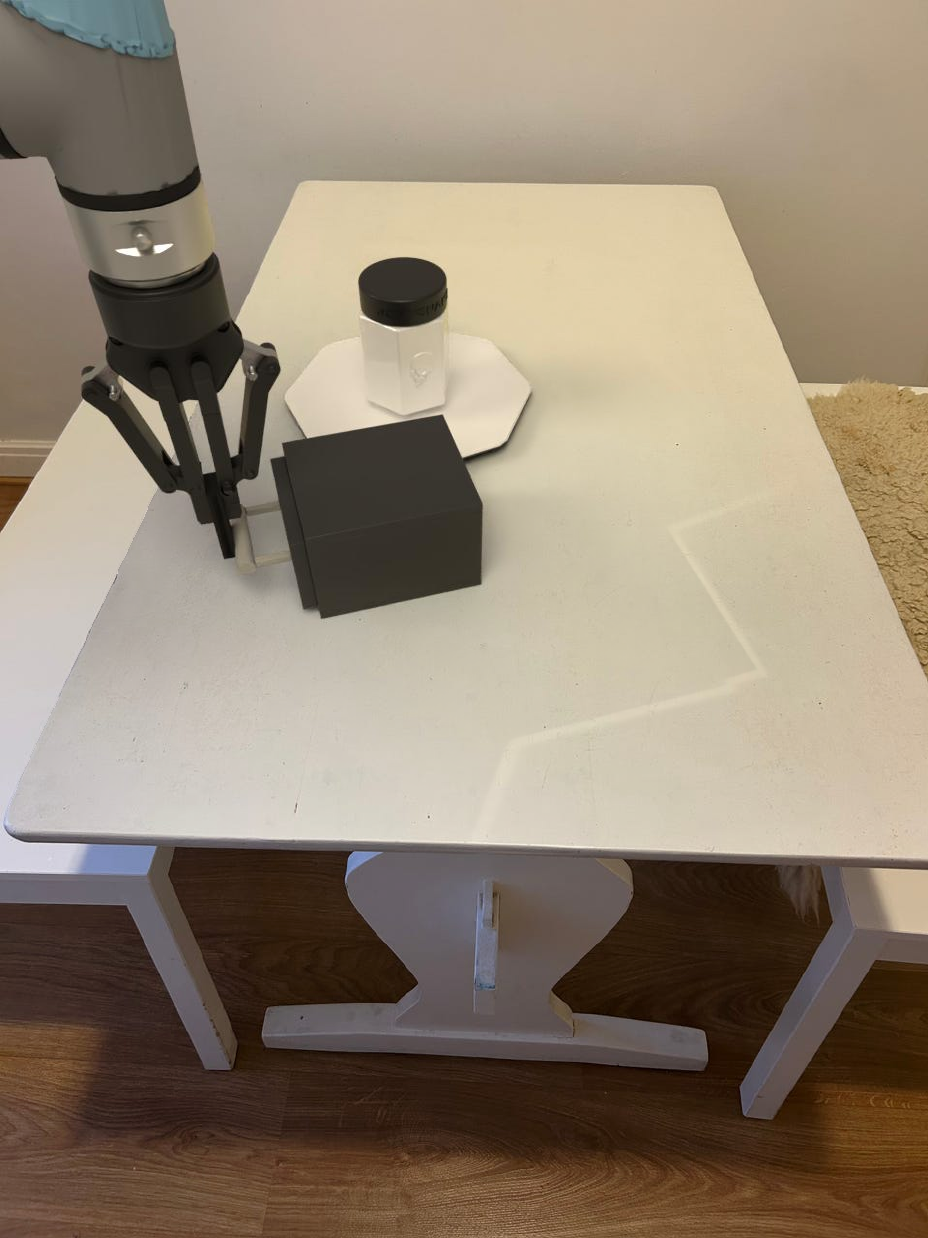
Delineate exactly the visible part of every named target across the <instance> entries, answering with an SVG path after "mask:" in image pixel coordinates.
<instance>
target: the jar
mask: <svg viewBox="0 0 928 1238" xmlns="http://www.w3.org/2000/svg"><path fill="white" fill-rule="evenodd" d="M357 285H358V295H359V304H360V311H359V314H358V322H359V331H360V333H359V334H360V336H361V343H362V352H363V362H364V371H365V381H366V391H367V399H368V400H369V401H371V402H373V403H376V404H378V405H380V406H382V407H385V408H387V409H389V410H391V411H394V412H396V413H398V414H400V415H407V414H411V413H414V412H418V411H422V410H425V409H429V408H433V407H436V406H440V405H443V404H444V403H445V399H446V393H447V387H448V382H449V332H450V331H449V294H448V293H449V291H448V290H449V289H448V278H447V274H446V272H445V271H444V270H443V268H442V267H441V266H439V265H438V264H436V263H434V262H432V261H430V260H426V259H424V258H420V257H412V256H411V257H409V256H397V257H389V258H385V259H381V260H378V261H375V262H373V263H371V264H370V265H368V266H367V267H365V268H364V269H363V270H362V271H361V272H360V274H359V276H358V280H357Z"/></svg>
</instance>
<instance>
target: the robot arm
mask: <svg viewBox="0 0 928 1238" xmlns="http://www.w3.org/2000/svg"><path fill="white" fill-rule="evenodd" d="M177 49H178V48H177V39H176V34H175V30H173V28H172V27H171V25H170V20H169V16H168V12H167V9H166V5H165V1H164V0H0V160H2V161H3V160H11V161H12V160H22V159H28V158H35V157H36V158H38V157H39V158H46V160H47V162H48V163H49V166H50V168H51V169H52V172H53V174H54V179H55V182H56V186H57V189H58V192H59V193H60V196H61V200H62V203H63V205H64V208H65V212H66V215H67V218H68V221H69V224H70V226H71V230H72V233H73V236H74V239H75V242H76V246H77V249H78V252H79V255H80V259H81V261H82V262H83V263H84V265H85V266H86V267H87V268H88V269H89V271H88V275H87V279H88V282H89V285H90V288H91V292H92V294H93V297H94V300H95V303H96V307H97V309H98V312H99V315H100V318H101V320H102V324H103V327H104V330H105V333H106V335H107V339H106V342H105V347H104V348H105V358H104V359H103V360H102V361H101V362H99V364H97V365H96V366H93V365H87V366H85V367H83V368H82V370H81V379H80V380H81V381H80V383H81V385H80V386H81V388H80V390H81V391H80V393H81V398H82V399H83V400H84V401H85V402H87V403H88V404H89V405H90V406H92V407H93V408H94V409H96V410H98V411H99V412H100V413H102V414H103V415H104V416H106V417H107V418H108V419H109V421H110V422H111V424H112V425H113V427H114V428H115V429H116V431H117V432H118V434H119V435H120V436H121V437H122V439H123V440H124V442H125V443H126V444H127V446H128V447H129V448H130V451H132V453H133V454H134V455H135V457H136V458H137V459H138V461H139V462H140V463H141V465H142V467H144V469H145V471H146V472H147V473H148V474H149V476H150V477H151V479H152V480H153V481H154V483H155V484H156V486H157V487H158V488H159V490H160V491H161V492H162V493H164V494H174V493H176V492H177V491H178V492H179V491H181V492H185V493H186V494H187V495H189V498H190V500H191V503H192V508H193V510H194V514H195V517H196V521H197V522H198V523H199V524H200V525H201V526H204V525H210V524H213V526H214V529H215V533H216V536H217V540H218V544H219V548H220V550H221V554H222V559H223V560H229V559H235V558H236V556H235V547H234V541H233V535H232V529H231V524H230V519H236V518H241V515H242V509H241V504H242V503H241V500H240V494H239V490H238V484H239V483H240V482H242V481H243V480H246V481H252V480H256V479H257V477H258V476H259V472H260V464H261V456H262V448H263V441H264V435H265V434H264V432H265V424H266V417H267V409H268V402H269V401H268V400H269V393H270V392H271V390H272V388H273V386H274V384H275V383H276V381H277V380H278V378H279V376H280V374H281V372H282V368H281V363H280V360H279V357H278V353H277V349H276V346H275V345H274V344H273V343H271V342H268V341H267V342H266V341H265V342H262V343H261V344H260V345H259V344H257V343H255V342H252V341H250V340H248V339H245V338H244V337H243V333H242V331H241V328H240V327H239V325H237V324H236V322H235V321H234V319H233V318H232V316H231V312H230V308H229V302H228V297H227V293H226V288H225V283H224V279H223V274H222V268H221V263H220V260H219V257H218V256H217V254H216V253H215V252H214V250H215V248H216V239H215V234H214V229H213V223H212V219H211V215H210V209H209V204H208V200H207V195H206V190H205V185H204V180H203V175H202V173H201V169H200V163H199V159H198V154H197V150H196V144H195V137H194V134H193V128H192V123H191V117H190V112H189V107H188V101H187V97H186V92H185V86H184V81H183V80H184V79H183V76H182V70H181V64H180V59H179V54H178V50H177ZM240 360H241V368H242V373H243V375H244V376H245V380H244V390H243V399H242V409H241V417H240V418H241V419H240V428H239V437H238V446H237V447H238V448H237V454H235V455H233V456H231V451H230V446H229V442H228V437H227V432H226V429H225V423H224V418H223V414H222V410H221V405H220V401H219V395H218V394H219V393H220V392H221V391H222V390H223V388H224V387H225V386H226V384H227V382H228V380H229V378H230V377H231V375H232V373H233V371H234V369H235V367H236V366H237V364H238V362H239V361H240ZM123 380H125V381H127V382H128V383H129V384H131V386H133V387H135V388H136V389H137V390H139V391H140V392H141V393H142V394H144V395H146V396H147V397H148V398H149V399H151V400H153V401H154V402H155V401H156V402H157V404H158V406H159V409H160V412H161V415H162V418H163V421H164V422H165V424H166V428H167V431H168V434H169V437H170V441H171V443H172V446H173V450H174V453H175V455H176V459H177V462H178V464H175V461H174V460H173V459H172V457H171V456H170V455H169V453H168V452H167V450H166V449H165V448H164V446H163V444H162V443H161V441H160V440H159V439H158V437H157V436H156V434H155V433H154V431H153V430H152V428H151V427H150V426H149V424H148V422H147V421H146V420H145V418H144V417H143V415H142V414H141V412H140V411H139V409H138V407H137V406H136V405H135V404H134V402H133V400H132V399H131V398H130V396H129V394H128V393H127V392H126V391H125V390H124V381H123ZM187 401H198V406H199V411H200V415H201V417H202V421H203V425H204V430H205V433H206V437H207V442H208V446H209V450H210V454H211V458H212V463H213V467H214V471H211V472H206V473H205V472H203V465H202V461H201V459H200V456H199V453H198V450H197V445H196V443H195V439H194V436H193V433H192V429H191V425H190V422H189V419H188V416H187V413H186V410H185V406H184V402H187Z"/></svg>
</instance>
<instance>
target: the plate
mask: <svg viewBox="0 0 928 1238" xmlns="http://www.w3.org/2000/svg"><path fill="white" fill-rule="evenodd" d="M531 394H532V387H531V383H530V382H529V381H528V380H527V379H526V378H525V377H524V376H523V374H522V373H521V372H520V371H519V370H518V369H517V368H516V367H515V366H514V364H513V363H511V361H509V359H508V358H507V357H506V356H505V355H504V354H503V352H501V350H499V348H498V347H497V346H496V344H494V343H493V342H492V341H490V340H488V339H487V338H485V337H484V338H483V337H479V336H473V335H469V334H468V335H467V334H463V333H457V332H452V331H449V382H448V387H447V393H446V399H445V403H444V404H443V405H440V406H436V407H433V408H429V409H425V410H422V411H418V412H414V413H411V414H407V415H400V414H398V413H396V412H394V411H391V410H389V409H387V408H385V407H382V406H380V405H378V404H376V403H373V402H371V401H369V400H368V399H367V391H366V381H365V371H364V362H363V352H362V343H361V335H358V336H354V337H350V338H347V339H343V340H339V341H335V342H331V343H329V344H327V345H325V346H323V347H321V349H319V351H318V352H317V353H316V355H315V356H314V357H313V358H312V359H311V361H310V362H308V364H307V365H306V367H305V368H304V369H303V371H302V372H301V373H300V374H299V376H298V377H297V378H296V380H295V381H294V382H293V383H292V384H291V385H290V387H289V388H288V389H287V390H286V391H285V394H284V402H285V405H286V406H287V408H288V409H289V411H290V414H292V416H293V418H294V420H295V421H296V423H297V425H298V427H299V428H300V430H301V431H302V433H303V435H304V437H305V439H306V438H312V437H317V436H323V435H328V434H334V433H340V432H345V431H351V430H357V429H362V428H368V427H374V426H379V425H385V424H391V423H396V422H402V421H407V420H413V419H419V418H424V417H430V416H436V415H441V414H443V416H444V418H445V420H446V423H447V425H448V427H449V429H450V432H451V434H452V436H453V438H454V440H455V443H456V445H457V447H458V449H459V452H460V454H461V456H462V458H463V460H466V459H468V458H469V459H470V458H471V457H475V456H478V455H481V454H486V453H487V452H491V451H494V450H497V449H499V448H501V447H503V446H504V445H505V444H506V443H508V441H509V439H510V437H511V435H512V432H513V430H514V429H515V426H516V424H517V422H518V420H519V418H520V417H521V414H522V412H523V410H524V408H525V405H526V404H527V402H528V400H529V397H531Z"/></svg>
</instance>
